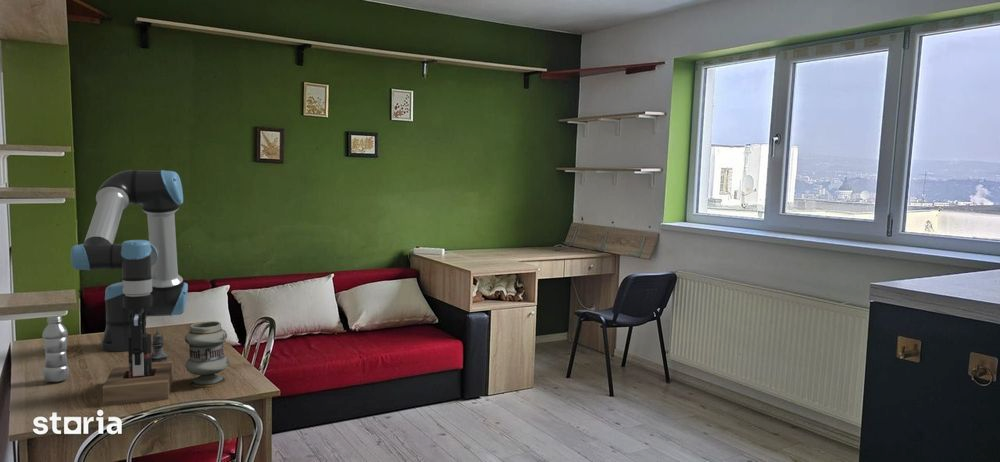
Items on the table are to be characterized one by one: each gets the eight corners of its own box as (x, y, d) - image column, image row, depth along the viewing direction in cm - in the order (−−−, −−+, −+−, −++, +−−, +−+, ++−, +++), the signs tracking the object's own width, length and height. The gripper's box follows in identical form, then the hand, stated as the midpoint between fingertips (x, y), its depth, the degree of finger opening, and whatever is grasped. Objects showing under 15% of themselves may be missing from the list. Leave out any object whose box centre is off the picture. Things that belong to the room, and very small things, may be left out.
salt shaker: (160, 369, 220) (159, 333, 218) (144, 368, 221) (143, 331, 220) (172, 364, 225) (171, 329, 224) (156, 363, 226) (155, 327, 225)
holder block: (114, 381, 207) (114, 365, 206) (173, 376, 213) (172, 360, 212) (103, 405, 187) (102, 387, 186) (168, 399, 193) (167, 381, 192)
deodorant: (156, 385, 201) (155, 334, 200) (138, 390, 196) (137, 338, 195) (142, 382, 204) (141, 332, 203) (124, 387, 198) (123, 336, 197)
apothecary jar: (177, 382, 207) (176, 324, 205) (214, 373, 217) (213, 317, 215) (200, 390, 200) (199, 330, 198) (237, 380, 210) (236, 323, 208)
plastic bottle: (51, 378, 209) (48, 313, 207) (74, 377, 210) (71, 313, 208) (38, 384, 203) (36, 318, 201) (62, 384, 203) (60, 318, 202)
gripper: (127, 288, 205) (129, 363, 207) (118, 301, 186) (120, 383, 189) (155, 287, 208) (157, 360, 210) (148, 299, 189) (151, 380, 191)
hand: (139, 371), depth 199 cm, fingers open, 7 cm apart
